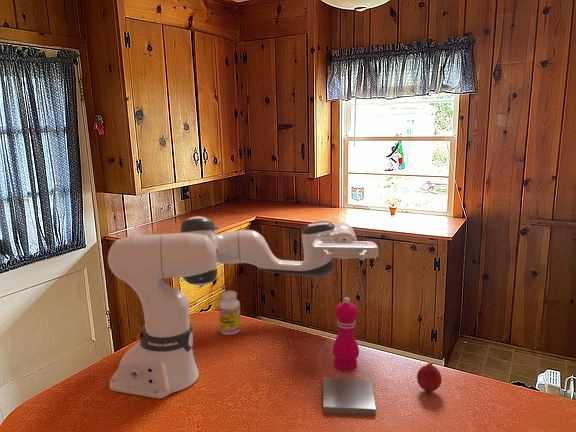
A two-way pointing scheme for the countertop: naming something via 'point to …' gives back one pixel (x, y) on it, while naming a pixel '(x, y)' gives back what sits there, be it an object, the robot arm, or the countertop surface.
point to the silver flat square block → (348, 396)
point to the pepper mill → (345, 337)
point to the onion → (429, 377)
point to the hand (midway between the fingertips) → (345, 257)
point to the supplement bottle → (229, 313)
